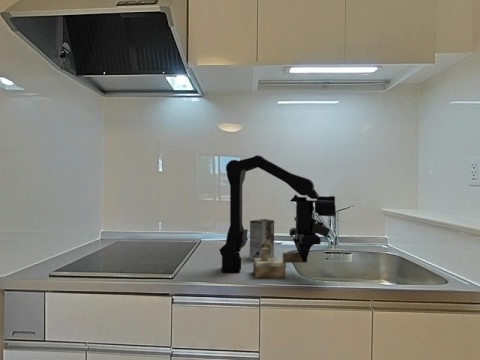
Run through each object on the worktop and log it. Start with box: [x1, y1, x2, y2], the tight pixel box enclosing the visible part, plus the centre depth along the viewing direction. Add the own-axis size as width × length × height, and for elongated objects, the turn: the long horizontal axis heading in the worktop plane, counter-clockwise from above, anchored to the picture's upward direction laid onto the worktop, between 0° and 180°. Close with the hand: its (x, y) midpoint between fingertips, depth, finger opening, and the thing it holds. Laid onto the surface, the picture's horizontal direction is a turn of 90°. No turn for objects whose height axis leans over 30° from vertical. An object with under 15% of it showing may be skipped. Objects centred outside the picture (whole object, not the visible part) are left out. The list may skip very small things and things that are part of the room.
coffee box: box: [249, 218, 275, 261], centre depth 153 cm, size 9×6×16 cm
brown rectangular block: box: [282, 252, 308, 264], centre depth 126 cm, size 8×2×3 cm, turn 95°
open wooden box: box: [252, 260, 287, 279], centre depth 128 cm, size 10×8×4 cm
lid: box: [253, 248, 287, 267], centre depth 128 cm, size 10×8×5 cm
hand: (303, 260), depth 126 cm, fingers closed on brown rectangular block, 2 cm apart
